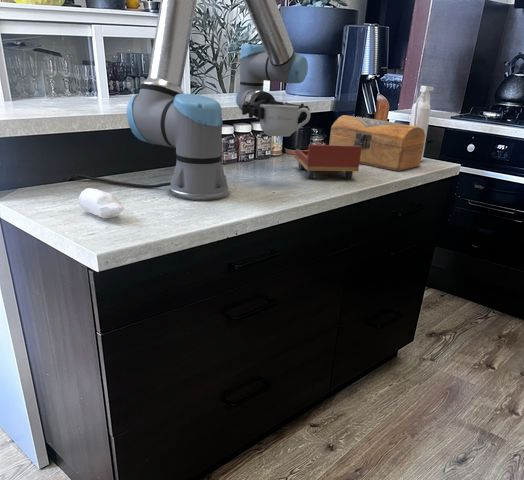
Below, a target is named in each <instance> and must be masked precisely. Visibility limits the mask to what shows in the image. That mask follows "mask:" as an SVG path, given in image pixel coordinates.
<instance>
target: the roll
mask: <svg viewBox="0 0 524 480" xmlns="http://www.w3.org/2000/svg"><path fill="white" fill-rule="evenodd" d="M78 205H79V207H80V209H81V210H82V211H84V212H86V213H89V214H92V215H94V216H97V217H100V218H103V219H112V218H116V217H117V216H119V215H120V214H121V213H123V212H124V211H125V207H124V206H123V205H122V202H121V201H120V199H119V198H118V197H117V196H116V195H114V194H111V193H109V192H106V191H103V190H101V189H96V188H92V187H87V188H85V189H84V190H82V191H81V193H80V194H79V196H78Z"/></svg>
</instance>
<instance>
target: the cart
mask: <svg viewBox="0 0 524 480" xmlns="http://www.w3.org/2000/svg"><path fill="white" fill-rule="evenodd" d="M361 148H362V146H344V145H329V144H308V149H307V150H305V149H304V150H303V149H300V148H295V150H294V159H295V160H296V161H297V162H298V170H300V171H303V170H306V178H307V179H313V178H314V171H315V172H344V177H345V179H346V180H351V179H352V177H353V173H354V172H359V169H360V163H359V162H360V155H361Z"/></svg>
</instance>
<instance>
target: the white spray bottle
mask: <svg viewBox="0 0 524 480" xmlns="http://www.w3.org/2000/svg"><path fill="white" fill-rule="evenodd" d="M434 90H435V87H434V86H428V85H420V88H419V92H420V94H419V96H418V97H417V99H416V101H415V103H413V104H412V106H411V111H410V118H409V125H411V126H417V127H420V128H421V129H423V130H424V133H425V140H424V147H423V151H422V157H421V161H420V162H423V160H424V153H425V148H426V141H427V134H428V130H429V129H428V128H429V122H430V117H431V109H432V108H431V105H430V104H431V94H430V92H433V91H434Z"/></svg>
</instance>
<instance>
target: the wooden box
mask: <svg viewBox="0 0 524 480" xmlns="http://www.w3.org/2000/svg"><path fill="white" fill-rule="evenodd" d="M362 117H363V116H356V117H355V115H347V114H343V115H340V116H339V117H338V118H336V119H335V121H334V122H333V124H332V125H331V127H330V133H329V134H330V135H329V143H328V145H344V146H362V148H361V155H360V162H359V165H360V164H361V165H366V166H370V167H374V168H375V167H376V168H380V169H385V170H389V171H393V172H394V171H395V172H401V171H406V170H409V169H413V168H417V167H420V166H421V162H422V161H421V157H422V151H423V147H424V140H425V133H424V130H423V129H421V128H420V127H417V126H411V125H410V124H404V123H399V122H393V121H388V120H383V119H382V120H381V119H377V118H376V119H375V118H370V117H363V118H362Z"/></svg>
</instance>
